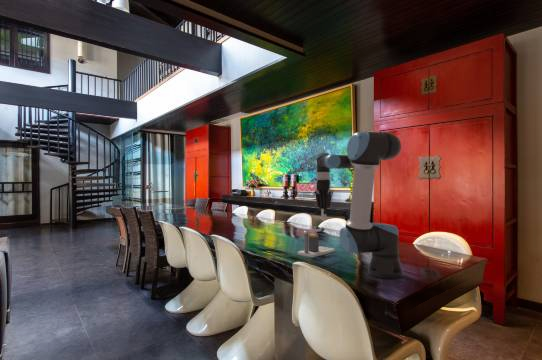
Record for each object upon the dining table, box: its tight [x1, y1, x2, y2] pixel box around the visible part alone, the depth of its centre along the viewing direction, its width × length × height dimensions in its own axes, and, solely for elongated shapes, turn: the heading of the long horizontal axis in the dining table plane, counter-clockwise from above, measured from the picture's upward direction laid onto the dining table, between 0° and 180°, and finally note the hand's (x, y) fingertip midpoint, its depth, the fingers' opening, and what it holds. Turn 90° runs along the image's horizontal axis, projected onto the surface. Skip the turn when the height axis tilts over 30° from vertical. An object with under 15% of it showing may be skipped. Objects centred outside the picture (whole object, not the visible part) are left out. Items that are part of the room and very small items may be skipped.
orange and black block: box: [308, 233, 319, 252], centre depth 173 cm, size 4×4×11 cm
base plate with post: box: [297, 234, 336, 259], centre depth 175 cm, size 21×11×13 cm, turn 132°
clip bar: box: [302, 227, 325, 235], centre depth 174 cm, size 17×3×2 cm, turn 132°
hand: (323, 219), depth 173 cm, fingers closed
